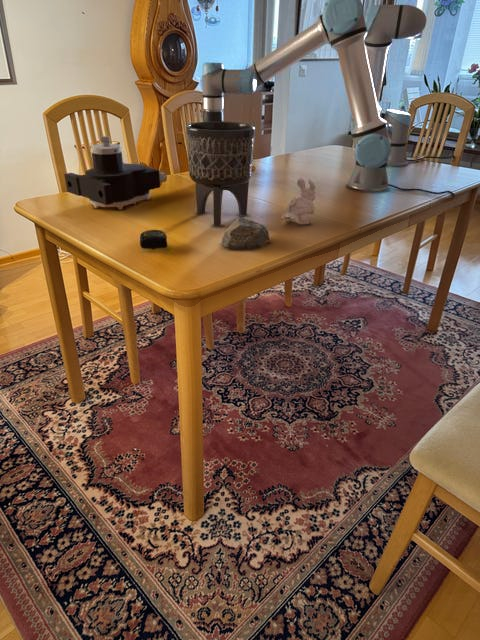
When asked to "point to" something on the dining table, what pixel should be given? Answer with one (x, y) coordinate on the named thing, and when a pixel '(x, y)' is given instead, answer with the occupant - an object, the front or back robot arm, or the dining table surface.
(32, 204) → the dining table surface
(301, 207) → the figurine
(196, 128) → the planter
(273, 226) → the dining table surface
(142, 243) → the tape measure
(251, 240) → the rock
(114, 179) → the mechanical component
